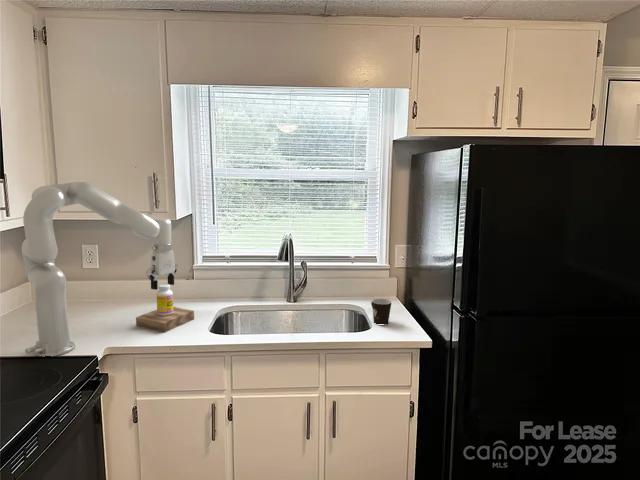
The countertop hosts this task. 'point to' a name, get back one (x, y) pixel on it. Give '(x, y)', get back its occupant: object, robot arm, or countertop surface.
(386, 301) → the coffee mug
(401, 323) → the countertop surface
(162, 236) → the robot arm
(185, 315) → the walnut base
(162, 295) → the supplement bottle
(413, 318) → the countertop surface
